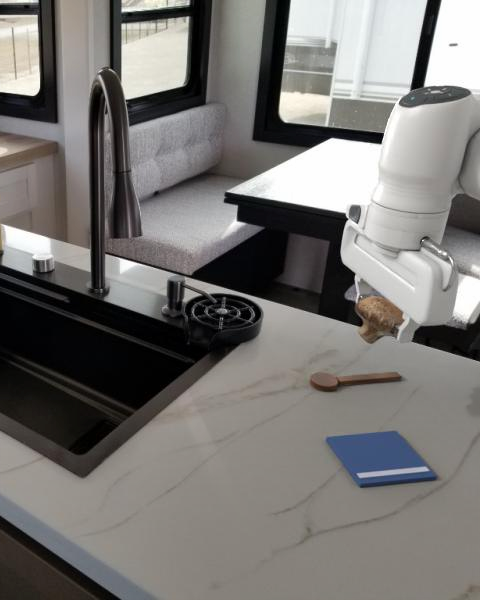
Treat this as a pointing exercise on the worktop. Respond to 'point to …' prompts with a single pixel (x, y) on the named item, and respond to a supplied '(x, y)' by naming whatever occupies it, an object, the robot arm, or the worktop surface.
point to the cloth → (379, 459)
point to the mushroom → (377, 318)
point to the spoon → (349, 379)
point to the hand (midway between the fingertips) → (381, 322)
